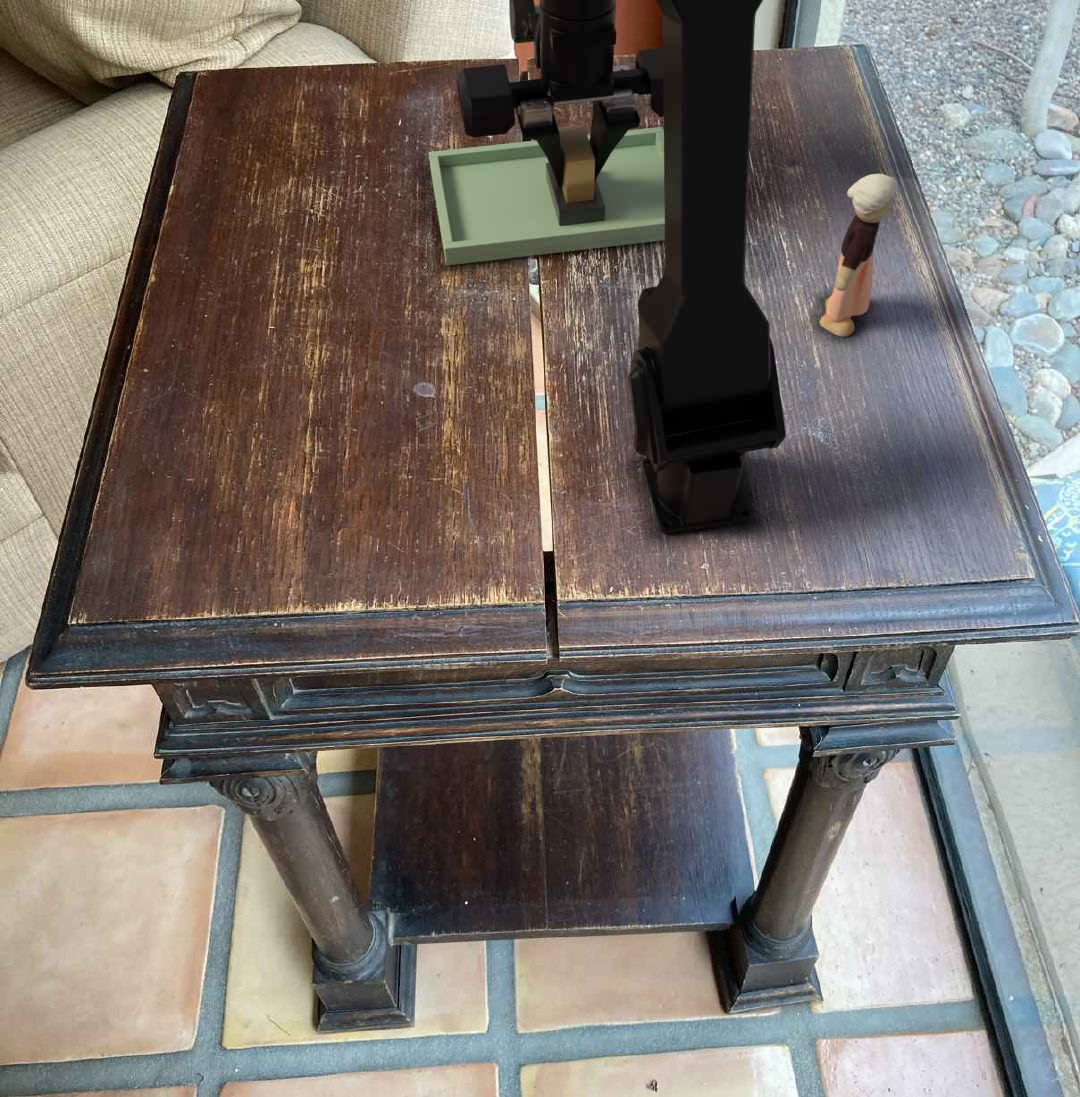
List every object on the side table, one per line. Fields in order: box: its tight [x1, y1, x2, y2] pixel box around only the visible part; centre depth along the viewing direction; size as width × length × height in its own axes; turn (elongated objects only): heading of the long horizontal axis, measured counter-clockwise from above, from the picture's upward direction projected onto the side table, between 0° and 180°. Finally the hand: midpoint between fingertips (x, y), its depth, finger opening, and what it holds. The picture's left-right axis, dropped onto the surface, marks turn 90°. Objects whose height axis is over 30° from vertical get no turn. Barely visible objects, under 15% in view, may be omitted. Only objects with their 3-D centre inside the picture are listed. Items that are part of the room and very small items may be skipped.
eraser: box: [546, 124, 605, 226], centre depth 90 cm, size 7×4×6 cm, turn 9°
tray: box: [428, 126, 665, 266], centre depth 92 cm, size 14×22×2 cm, turn 99°
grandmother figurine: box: [819, 173, 899, 338], centre depth 79 cm, size 8×4×13 cm, turn 168°
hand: (575, 182), depth 91 cm, fingers closed on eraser, 2 cm apart
